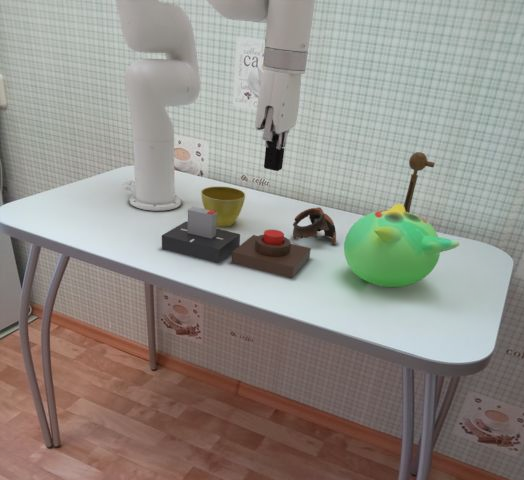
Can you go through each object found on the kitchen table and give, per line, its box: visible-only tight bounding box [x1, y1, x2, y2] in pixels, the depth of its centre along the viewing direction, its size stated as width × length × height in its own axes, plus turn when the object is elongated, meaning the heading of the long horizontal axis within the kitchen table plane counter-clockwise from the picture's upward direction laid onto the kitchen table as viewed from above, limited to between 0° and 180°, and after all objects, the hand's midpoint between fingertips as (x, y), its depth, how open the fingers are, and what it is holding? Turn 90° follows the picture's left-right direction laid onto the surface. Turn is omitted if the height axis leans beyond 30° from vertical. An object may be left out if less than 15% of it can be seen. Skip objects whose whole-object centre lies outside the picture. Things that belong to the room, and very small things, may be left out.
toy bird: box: [343, 203, 460, 288], centre depth 97 cm, size 18×17×15 cm
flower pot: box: [200, 185, 246, 228], centre depth 119 cm, size 10×10×7 cm
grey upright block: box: [187, 206, 217, 239], centre depth 104 cm, size 6×2×5 cm, turn 68°
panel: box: [161, 220, 241, 264], centre depth 106 cm, size 13×10×3 cm
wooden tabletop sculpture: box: [403, 151, 435, 213], centre depth 116 cm, size 6×5×20 cm
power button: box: [263, 229, 285, 245], centre depth 102 cm, size 4×4×2 cm
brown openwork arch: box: [292, 207, 337, 246], centre depth 116 cm, size 12×10×8 cm
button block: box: [230, 234, 312, 279], centre depth 103 cm, size 13×11×4 cm
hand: (272, 168), depth 99 cm, fingers closed
